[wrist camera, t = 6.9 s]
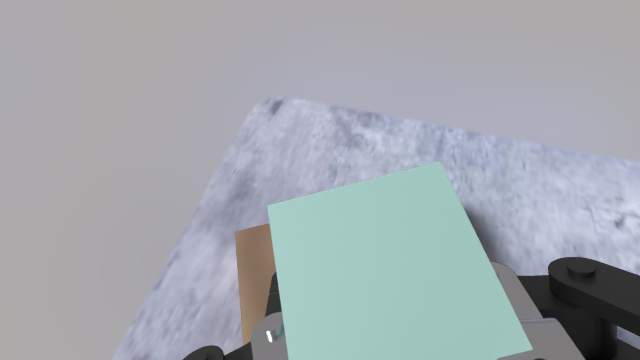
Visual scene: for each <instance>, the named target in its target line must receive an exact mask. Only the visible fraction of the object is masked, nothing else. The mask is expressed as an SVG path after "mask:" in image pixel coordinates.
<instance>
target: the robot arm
mask: <svg viewBox="0 0 640 360" xmlns="http://www.w3.org/2000/svg"><path fill="white" fill-rule="evenodd" d="M490 263H491V265H492V267H493V269H494V271H495V273H496V275H497V277H498V279H499V281H500V283H501V285H502V287H503V289H504V291H505V293H506V295H507V297H508V299H509V301H510V303H511V306H512V308H513V310H514V312H515V314H516V316H517V318H518V320H519V322H520V324H521V326H522V328H523V330H524V332H525V334H526V336H527V338H528V340H529V342H530V344H531V346H532V348H533V350H529V351H525V352H521V353H517V354H513V355H509V356H505V357H500V358H497V360H640V350H639V349H637V348H635V347H633V346H631V345H629V344H627V343H625V342H623V341H621V340H619V339H617V326H619V327H621V328H623V329H625V330H628V331H630V332H632V333H634V334H636V335H638V336H640V276H639V275H636V274H633V273H630V272H627V271H625V270H622V269H619V268H616V267H613V266H610V265H607V264H604V263H601V262H598V261H595V260H592V259H587V258H580V257H565V258H560V259H557V260H554V261H553V262H551V263H550V264H549V266H548V273H549V275H542V276H516V275H515V273H514V272H513V271H512V270H511V269H510V268H509V267H507V266H505V265H503V264H500V263H496V262H490ZM270 286H271V287H270V291H269V296H268V302H267V307H266V313H265V318H263V319H262V320H261V321H259V322H258V323H257V324H256V326H255V327H254V328H253V330H252V332H251V341H250V342H249V343H247V344H246V345H244V346H242V347H240V348H238V349H236V350H234V351H232V352H230V353H228V354H227V355H225V356H224V353H223V351H222V349H221V348H219V347H218V346H205V347H202V348H200V349H197V350H195V351H194V352H192V353H191V354H189V355H188V356H187V357H185V358H184V359H183V360H289V358H288V351H287V344H286V337H285V330H284V322H283V315H282V308H281V301H280V294H279V287H278V279H277V272H275V273H274V275H273V276H272V279H271V285H270Z"/></svg>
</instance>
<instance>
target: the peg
mask: <svg viewBox="0 0 640 360" xmlns="http://www.w3.org/2000/svg"><path fill="white" fill-rule="evenodd" d="M267 208H268V215H269V222H270V229H271V236H272V244H273V251H274V258H275V265H276V272H277V279H278V287H279V294H280V301H281V308H282V315H283V322H284V330H285V337H286V344H287V351H288V358H289V360H497V358H500V357H505V356H509V355H513V354H517V353H521V352H525V351H529V350H533V348H532V346H531V344H530V342H529V340H528V338H527V336H526V334H525V332H524V330H523V328H522V326H521V324H520V322H519V320H518V318H517V316H516V314H515V312H514V310H513V308H512V306H511V303H510V301H509V299H508V297H507V295H506V293H505V291H504V289H503V287H502V285H501V283H500V281H499V279H498V277H497V275H496V273H495V271H494V269H493V267H492V265H491V263H490V261H489V259H488V257H487V255H486V253H485V251H484V249H483V247H482V245H481V243H480V241H479V239H478V236H477V234H476V232H475V230H474V228H473V226H472V224H471V222H470V220H469V218H468V216H467V214H466V212H465V210H464V208H463V206H462V204H461V202H460V200H459V198H458V196H457V194H456V192H455V190H454V188H453V186H452V184H451V182H450V180H449V178H448V176H447V174H446V172H445V170H444V167H443V165H442V163H441V161H438V162H434V163H431V164H427V165H423V166H419V167H415V168H411V169H407V170H403V171H399V172H396V173H392V174H388V175H384V176H380V177H376V178H372V179H368V180H364V181H361V182H357V183H353V184H349V185H345V186H341V187H337V188H333V189H329V190H326V191H322V192H318V193H314V194H310V195H306V196H302V197H298V198H294V199H291V200H287V201H283V202H279V203H275V204H271V205H267Z"/></svg>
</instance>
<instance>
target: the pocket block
mask: <svg viewBox="0 0 640 360" xmlns="http://www.w3.org/2000/svg"><path fill="white" fill-rule="evenodd" d="M235 240H236V254H237V267H238V281H239V294H240V308H241V321H242V334H243V346H244V345H246V344H247V343H249V342H250V341H251V332H252V330H253V328H254V327H255V326H256V324H257V323H258V322H259V321H261V320H262V319H263V318H265V313H266V307H267V302H268V296H269V291H270V287H271V286H270V285H271V279H272V276H273V275H274V273H275V272H276V265H275V258H274V251H273V244H272V236H271V229H270V223H269V224H265V225H261V226H257V227H253V228H249V229H245V230H241V231H236V232H235Z"/></svg>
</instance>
